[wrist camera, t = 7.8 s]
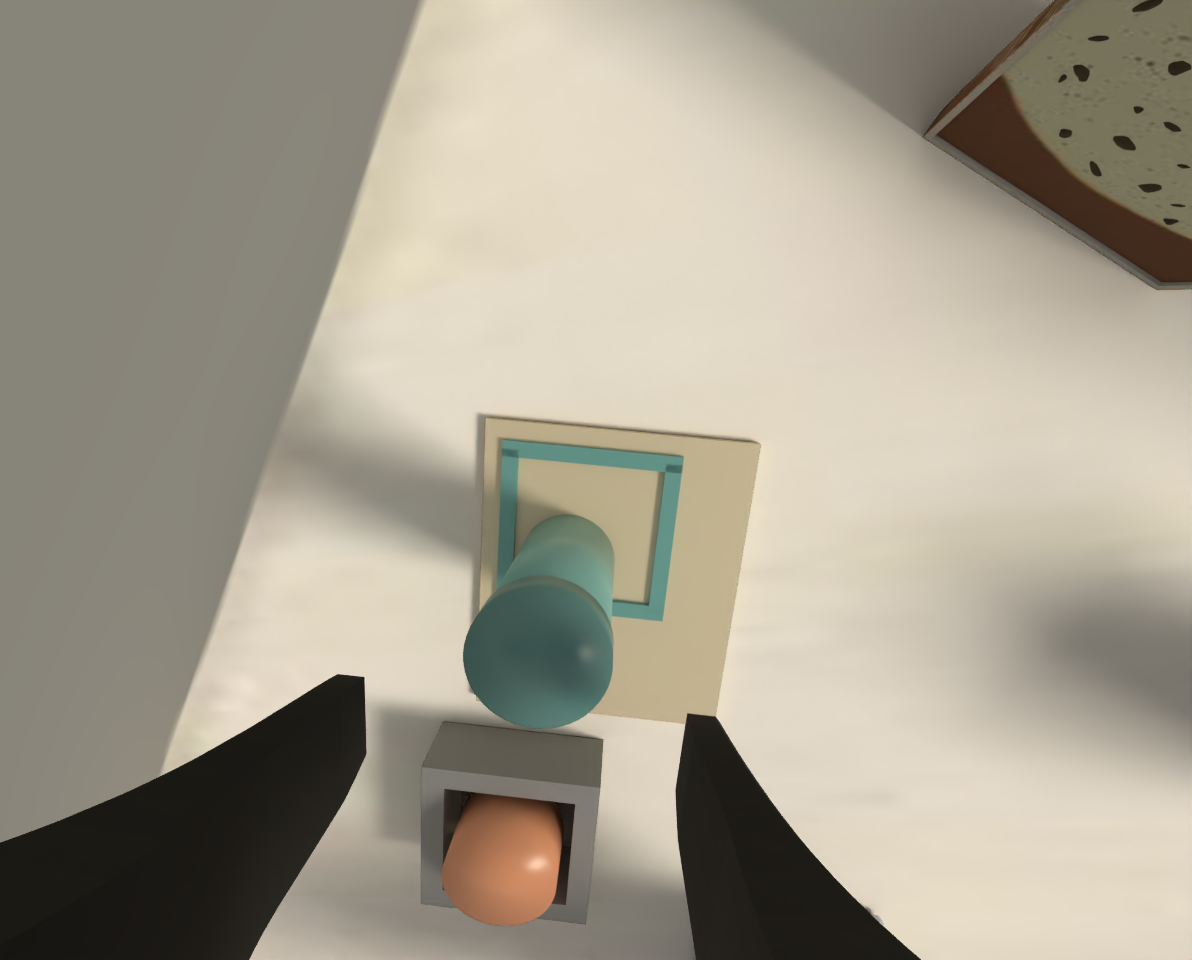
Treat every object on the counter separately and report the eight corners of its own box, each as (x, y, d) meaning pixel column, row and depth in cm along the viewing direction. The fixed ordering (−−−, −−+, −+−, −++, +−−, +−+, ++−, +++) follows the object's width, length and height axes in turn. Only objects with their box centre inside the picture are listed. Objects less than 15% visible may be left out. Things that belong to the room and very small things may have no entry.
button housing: (589, 866, 26) (585, 924, 23) (441, 848, 26) (420, 903, 23) (603, 739, 24) (600, 787, 21) (443, 721, 24) (421, 767, 21)
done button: (560, 871, 24) (552, 932, 21) (459, 859, 24) (440, 918, 22) (567, 788, 23) (560, 842, 20) (461, 776, 23) (442, 828, 20)
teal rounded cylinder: (612, 610, 22) (605, 736, 14) (516, 600, 22) (460, 719, 14) (621, 517, 21) (620, 599, 13) (522, 507, 21) (466, 582, 14)
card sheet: (712, 722, 23) (714, 730, 23) (478, 695, 23) (475, 703, 23) (759, 443, 20) (762, 445, 20) (487, 417, 20) (484, 419, 20)
